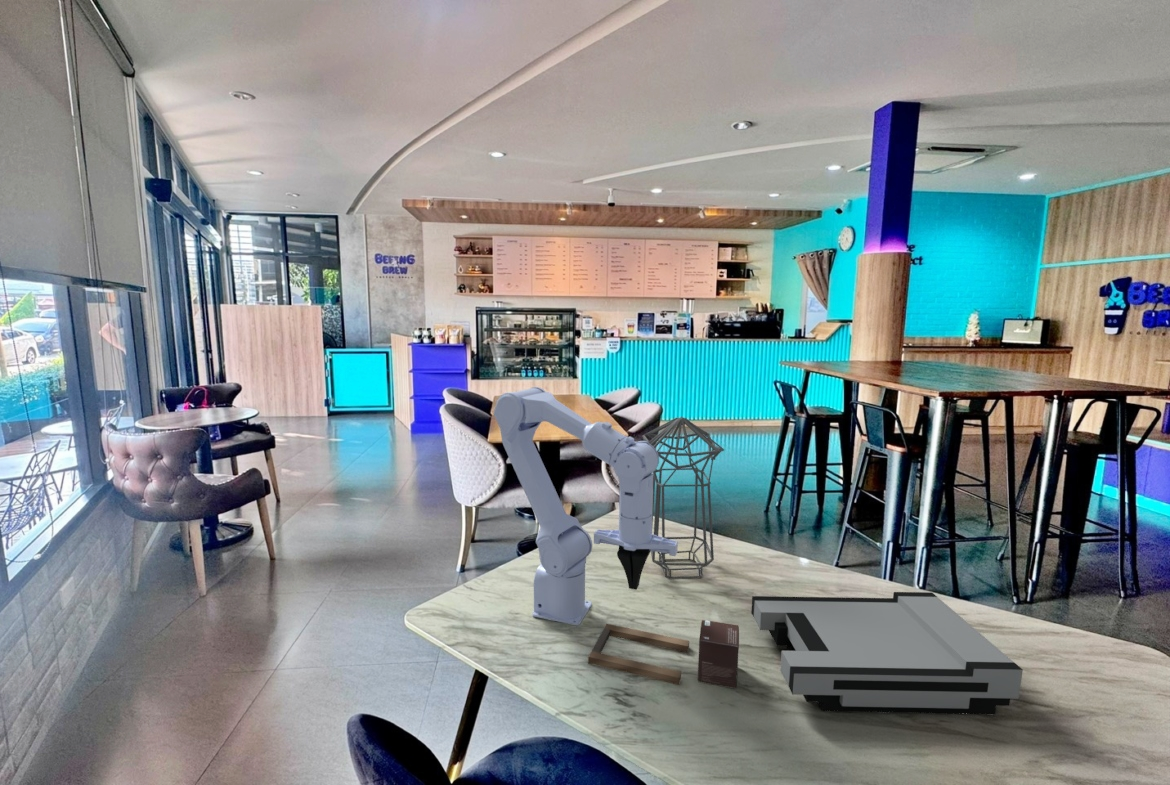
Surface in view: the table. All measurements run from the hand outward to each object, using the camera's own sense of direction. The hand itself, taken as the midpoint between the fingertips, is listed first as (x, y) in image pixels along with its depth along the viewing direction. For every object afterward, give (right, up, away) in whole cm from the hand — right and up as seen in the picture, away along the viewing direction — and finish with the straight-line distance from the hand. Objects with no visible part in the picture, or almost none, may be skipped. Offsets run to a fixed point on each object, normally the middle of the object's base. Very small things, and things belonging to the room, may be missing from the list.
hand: (634, 586), depth 95 cm
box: (+13, -11, -8) cm, 19 cm away
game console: (+37, -11, -7) cm, 40 cm away
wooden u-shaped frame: (+1, -10, -4) cm, 11 cm away
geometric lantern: (+12, -6, +26) cm, 29 cm away
